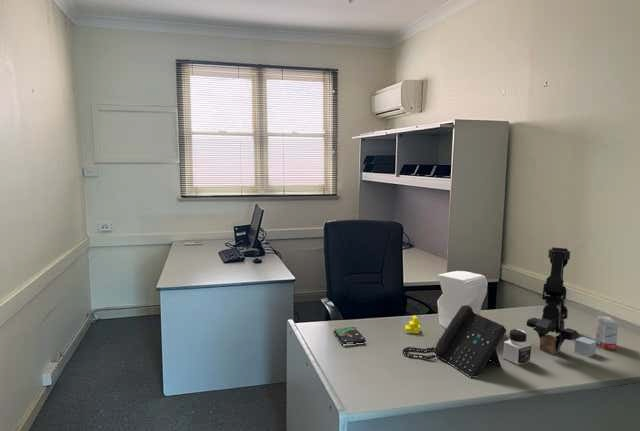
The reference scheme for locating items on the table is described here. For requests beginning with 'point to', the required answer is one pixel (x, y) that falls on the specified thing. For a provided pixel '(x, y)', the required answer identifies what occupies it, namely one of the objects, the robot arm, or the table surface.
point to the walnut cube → (548, 344)
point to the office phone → (468, 342)
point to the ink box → (606, 332)
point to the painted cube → (585, 346)
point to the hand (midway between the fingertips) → (549, 348)
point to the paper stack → (460, 294)
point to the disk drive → (349, 335)
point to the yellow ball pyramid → (413, 325)
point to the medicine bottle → (517, 347)
